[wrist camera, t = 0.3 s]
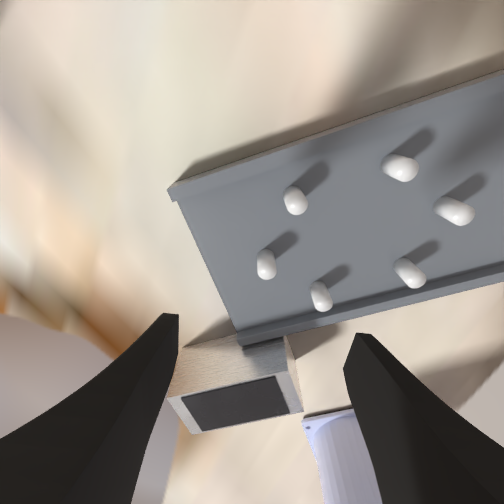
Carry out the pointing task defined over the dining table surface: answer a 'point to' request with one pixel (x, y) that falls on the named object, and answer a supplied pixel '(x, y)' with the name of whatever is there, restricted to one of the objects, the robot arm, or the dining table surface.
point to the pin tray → (357, 215)
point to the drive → (234, 383)
